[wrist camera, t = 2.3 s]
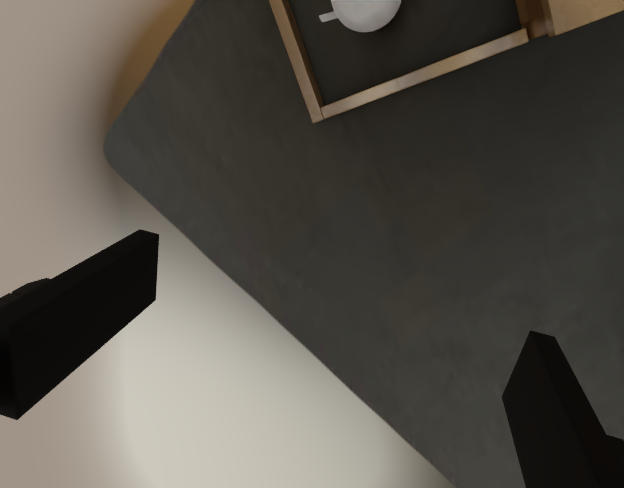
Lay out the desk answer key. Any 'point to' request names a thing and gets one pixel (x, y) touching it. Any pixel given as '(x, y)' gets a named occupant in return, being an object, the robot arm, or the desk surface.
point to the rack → (534, 22)
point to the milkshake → (363, 14)
